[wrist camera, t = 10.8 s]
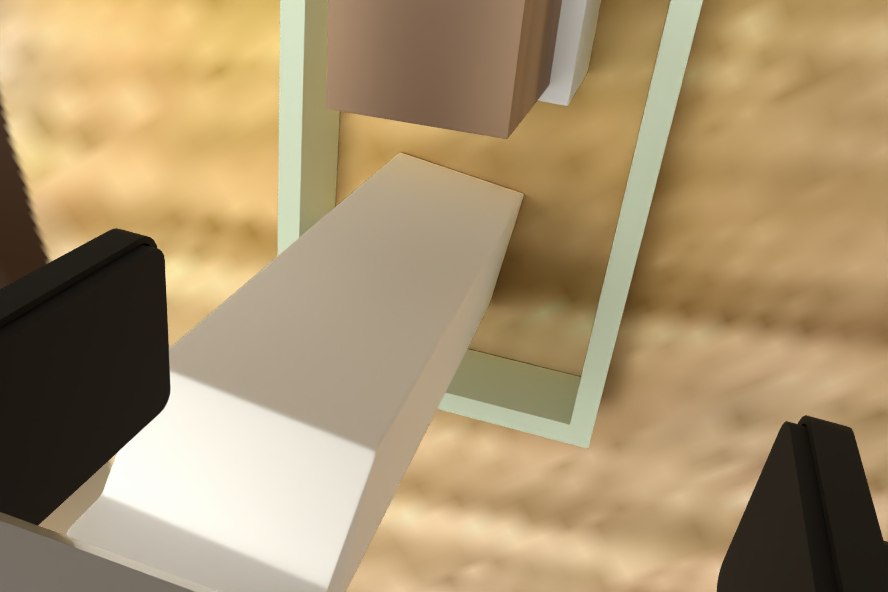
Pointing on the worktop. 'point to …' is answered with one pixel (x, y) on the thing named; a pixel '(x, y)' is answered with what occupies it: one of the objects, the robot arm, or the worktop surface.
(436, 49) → the walnut block
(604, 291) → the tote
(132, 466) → the milk
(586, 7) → the white block
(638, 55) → the worktop surface
